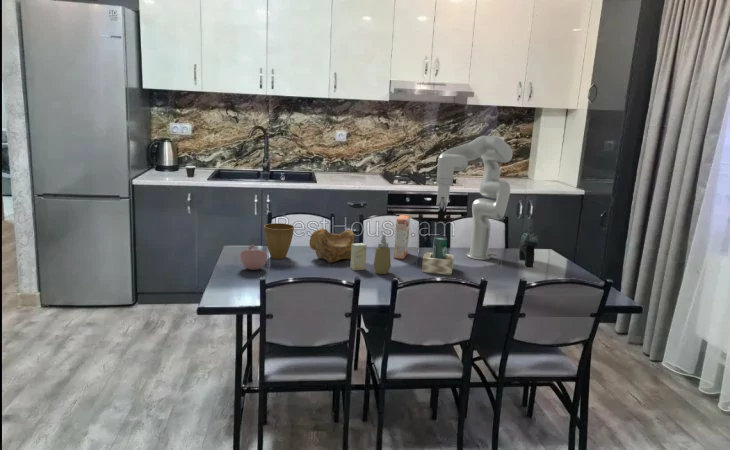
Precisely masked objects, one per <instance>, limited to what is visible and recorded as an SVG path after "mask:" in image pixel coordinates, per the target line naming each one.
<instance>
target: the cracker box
mask: <svg viewBox="0 0 730 450" xmlns="http://www.w3.org/2000/svg"><path fill="white" fill-rule="evenodd" d="M395 223H396V225H395V237H394V238H395V239H394V248H393V249H394V252H393V258H394V259H397V260H398V259H400V260H404V259H405V258H406V256H407V254H408V250H409V249H408V248H409V238H410V237H409V236H410V225H411V215H410V214H409V215H408V214H399V216H398V217H397V218H396V222H395Z"/></svg>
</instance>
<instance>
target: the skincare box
mask: <svg viewBox="0 0 730 450" xmlns="http://www.w3.org/2000/svg"><path fill="white" fill-rule="evenodd" d="M366 261H367V244H366V243H364V242H360V243H359V242H358V243H357V242H356V243H354V244H352V245H351V258H350V266H349V267H350V269H351V270H353V271H361V270H366Z"/></svg>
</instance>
